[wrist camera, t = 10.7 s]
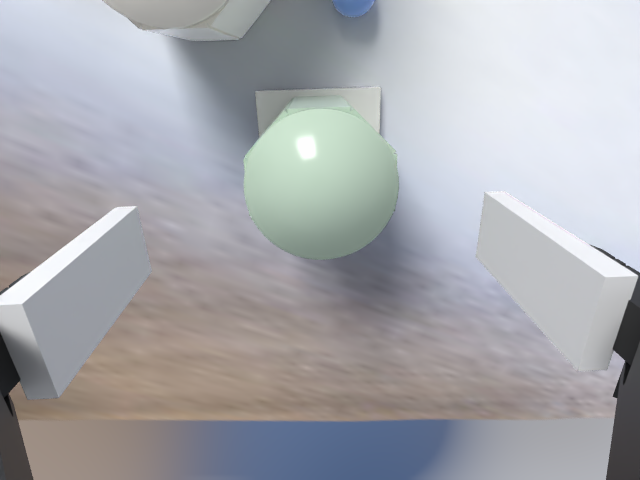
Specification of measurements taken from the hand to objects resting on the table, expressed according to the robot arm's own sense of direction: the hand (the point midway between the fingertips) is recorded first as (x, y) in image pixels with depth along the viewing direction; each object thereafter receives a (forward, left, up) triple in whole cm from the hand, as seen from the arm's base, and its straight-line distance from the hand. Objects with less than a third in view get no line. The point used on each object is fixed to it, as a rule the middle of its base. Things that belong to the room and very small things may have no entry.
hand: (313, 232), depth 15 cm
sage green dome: (0, 0, -16) cm, 16 cm away
